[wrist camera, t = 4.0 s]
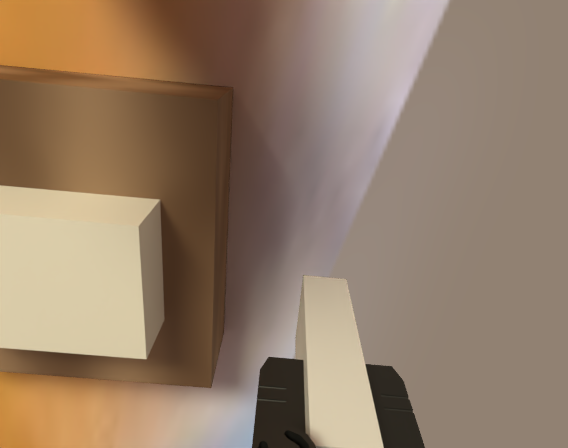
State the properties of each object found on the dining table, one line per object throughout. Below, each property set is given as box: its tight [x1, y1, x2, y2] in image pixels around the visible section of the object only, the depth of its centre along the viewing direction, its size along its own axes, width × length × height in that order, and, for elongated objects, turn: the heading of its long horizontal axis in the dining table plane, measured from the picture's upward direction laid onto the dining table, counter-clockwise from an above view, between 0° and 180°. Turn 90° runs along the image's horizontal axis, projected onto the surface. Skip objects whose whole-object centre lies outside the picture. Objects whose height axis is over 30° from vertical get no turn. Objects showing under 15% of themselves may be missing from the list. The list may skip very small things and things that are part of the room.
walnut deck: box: [0, 65, 233, 388], centre depth 18 cm, size 15×13×4 cm
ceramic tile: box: [0, 185, 164, 359], centre depth 15 cm, size 8×6×2 cm
